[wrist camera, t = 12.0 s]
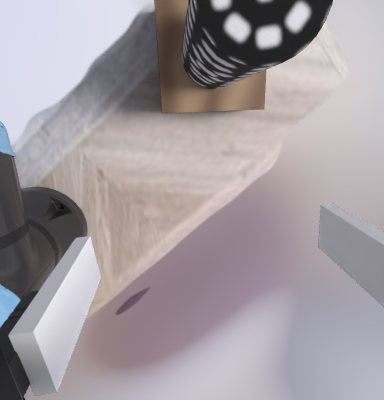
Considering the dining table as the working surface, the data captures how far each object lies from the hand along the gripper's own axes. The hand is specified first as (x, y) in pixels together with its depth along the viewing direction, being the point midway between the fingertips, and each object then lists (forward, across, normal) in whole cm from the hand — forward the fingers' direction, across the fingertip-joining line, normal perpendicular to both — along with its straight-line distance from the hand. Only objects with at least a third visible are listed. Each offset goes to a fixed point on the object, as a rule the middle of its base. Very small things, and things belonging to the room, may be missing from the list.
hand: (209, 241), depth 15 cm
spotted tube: (+25, +5, +13) cm, 28 cm away
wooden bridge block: (+32, +6, +13) cm, 35 cm away
